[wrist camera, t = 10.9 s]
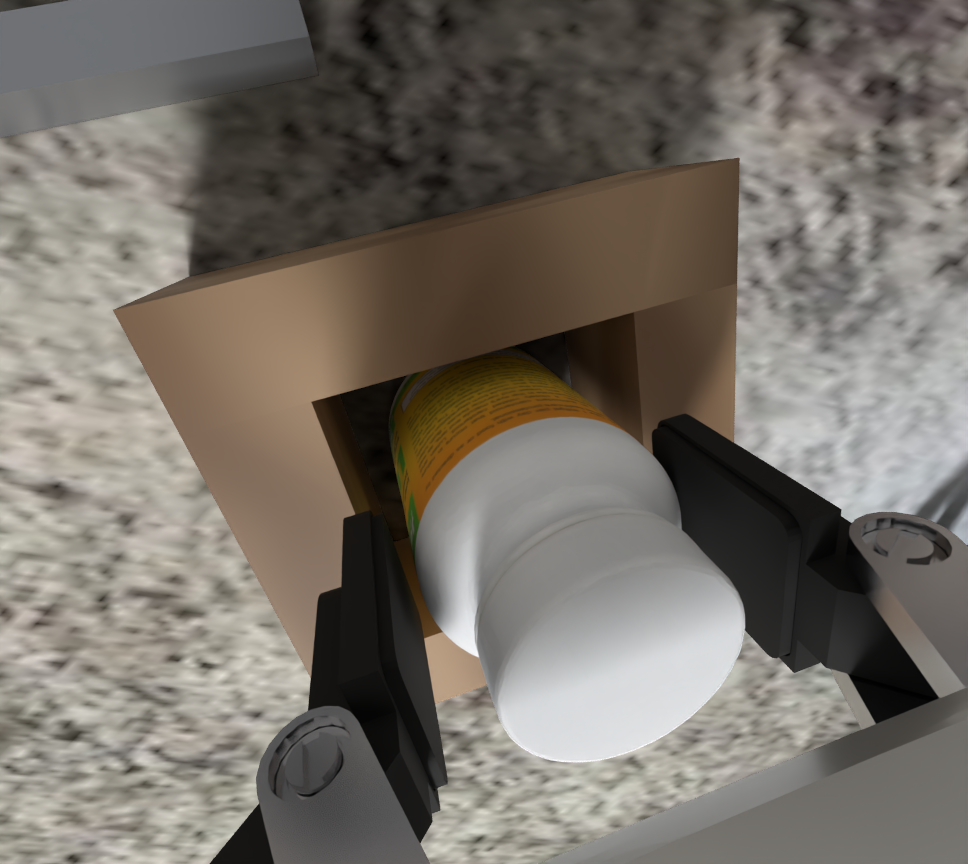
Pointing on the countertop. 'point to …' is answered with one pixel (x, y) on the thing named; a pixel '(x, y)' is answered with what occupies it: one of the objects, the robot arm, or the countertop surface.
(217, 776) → the countertop surface
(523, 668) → the supplement bottle
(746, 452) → the robot arm
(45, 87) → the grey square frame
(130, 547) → the countertop surface
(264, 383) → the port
